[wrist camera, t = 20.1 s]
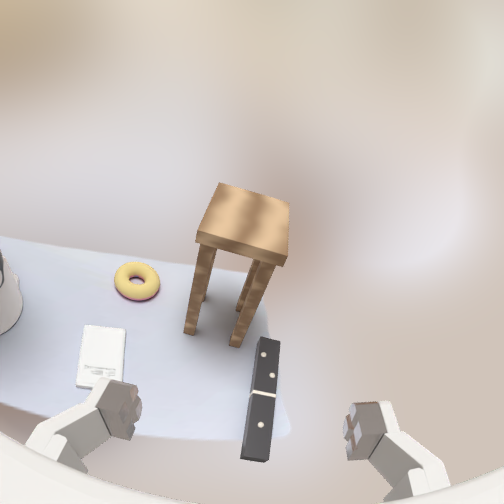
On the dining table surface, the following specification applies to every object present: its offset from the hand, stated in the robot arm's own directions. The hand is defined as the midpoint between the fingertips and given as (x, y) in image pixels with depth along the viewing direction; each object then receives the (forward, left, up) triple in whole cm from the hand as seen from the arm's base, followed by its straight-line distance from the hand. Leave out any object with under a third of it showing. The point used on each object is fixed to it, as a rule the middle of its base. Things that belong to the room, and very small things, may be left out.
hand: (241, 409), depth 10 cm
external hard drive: (-18, +18, -40) cm, 47 cm away
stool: (0, +34, -39) cm, 52 cm away
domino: (+10, +19, -39) cm, 45 cm away
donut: (-18, +37, -40) cm, 57 cm away
